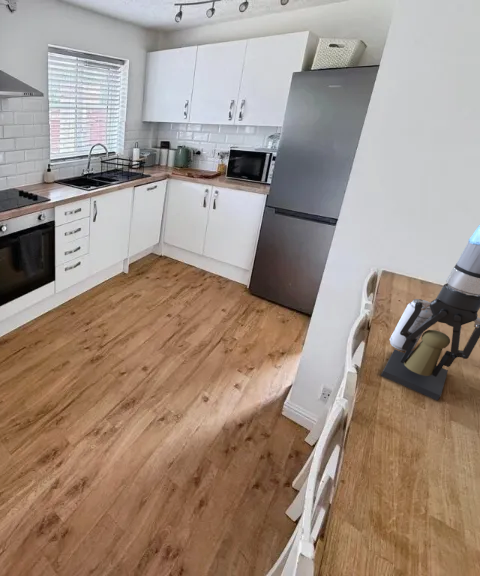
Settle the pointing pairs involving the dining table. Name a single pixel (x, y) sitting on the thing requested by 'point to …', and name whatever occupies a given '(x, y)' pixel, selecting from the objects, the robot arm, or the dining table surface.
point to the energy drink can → (398, 339)
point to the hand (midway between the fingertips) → (418, 366)
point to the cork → (427, 352)
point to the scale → (414, 377)
